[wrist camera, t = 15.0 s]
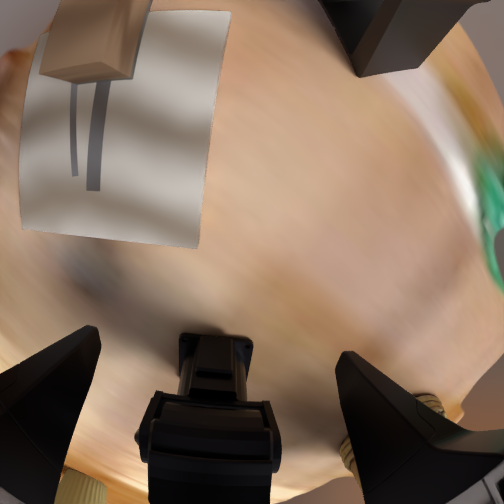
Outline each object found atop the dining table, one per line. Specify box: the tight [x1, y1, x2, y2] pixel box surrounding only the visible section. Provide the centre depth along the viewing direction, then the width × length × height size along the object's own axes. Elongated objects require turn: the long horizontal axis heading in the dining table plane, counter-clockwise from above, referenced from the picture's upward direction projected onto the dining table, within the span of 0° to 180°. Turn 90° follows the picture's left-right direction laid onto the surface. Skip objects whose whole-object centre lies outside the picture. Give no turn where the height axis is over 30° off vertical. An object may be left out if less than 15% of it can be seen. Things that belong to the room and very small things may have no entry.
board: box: [19, 10, 231, 249], centre depth 16 cm, size 17×16×1 cm
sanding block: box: [39, 0, 153, 85], centre depth 11 cm, size 7×4×5 cm, turn 172°
